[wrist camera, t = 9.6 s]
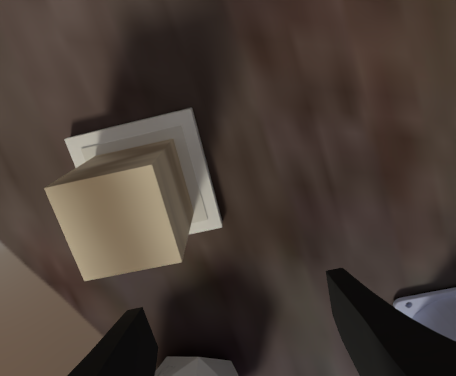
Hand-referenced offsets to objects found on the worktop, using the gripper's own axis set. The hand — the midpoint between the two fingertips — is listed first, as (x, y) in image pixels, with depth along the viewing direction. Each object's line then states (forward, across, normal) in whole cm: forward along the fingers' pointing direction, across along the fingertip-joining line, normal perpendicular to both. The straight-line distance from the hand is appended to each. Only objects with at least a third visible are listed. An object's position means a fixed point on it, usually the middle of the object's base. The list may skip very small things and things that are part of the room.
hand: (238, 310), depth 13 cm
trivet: (+10, +5, -3) cm, 12 cm away
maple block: (+10, +5, -3) cm, 11 cm away
